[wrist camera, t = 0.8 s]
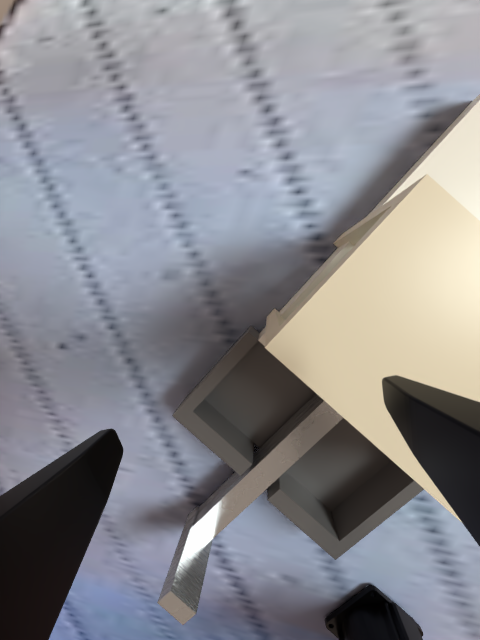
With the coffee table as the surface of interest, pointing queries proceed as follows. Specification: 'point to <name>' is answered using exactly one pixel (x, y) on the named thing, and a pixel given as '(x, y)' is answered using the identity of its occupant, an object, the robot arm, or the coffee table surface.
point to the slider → (238, 503)
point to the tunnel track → (361, 349)
